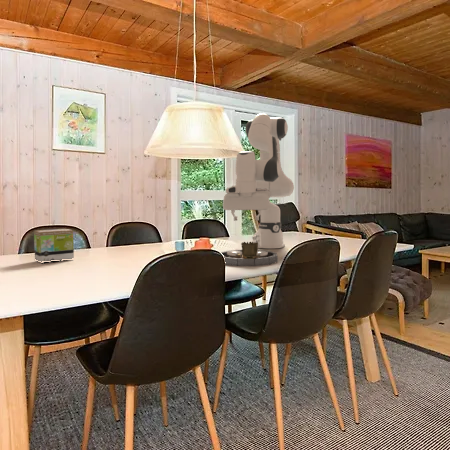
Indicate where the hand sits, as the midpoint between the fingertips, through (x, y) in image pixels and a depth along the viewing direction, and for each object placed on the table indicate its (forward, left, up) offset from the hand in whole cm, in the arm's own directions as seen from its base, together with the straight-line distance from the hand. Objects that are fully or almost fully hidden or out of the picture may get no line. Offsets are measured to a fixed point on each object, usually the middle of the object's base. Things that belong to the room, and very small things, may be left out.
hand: (246, 220), depth 173 cm
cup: (+1, +1, -18) cm, 18 cm away
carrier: (-6, +3, -19) cm, 20 cm away
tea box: (-49, -77, -19) cm, 93 cm away
